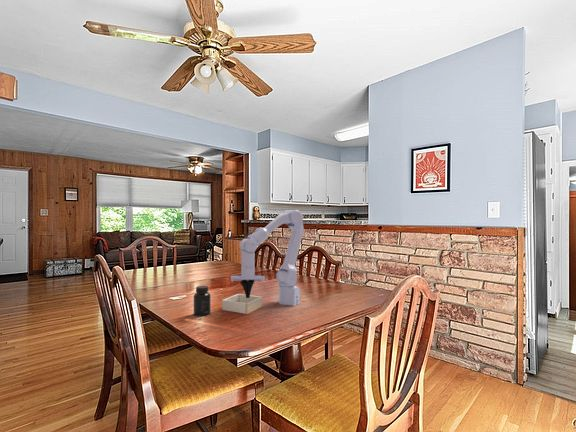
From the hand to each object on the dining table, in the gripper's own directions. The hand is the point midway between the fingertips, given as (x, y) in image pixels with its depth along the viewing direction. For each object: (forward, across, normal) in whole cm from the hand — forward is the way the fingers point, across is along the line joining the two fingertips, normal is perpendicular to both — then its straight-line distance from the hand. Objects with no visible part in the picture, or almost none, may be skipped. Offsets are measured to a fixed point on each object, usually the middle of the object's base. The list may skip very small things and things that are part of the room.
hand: (247, 297), depth 136 cm
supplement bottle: (+6, +18, +7) cm, 20 cm away
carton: (+6, +3, -2) cm, 7 cm away
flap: (+5, -3, +1) cm, 6 cm away
